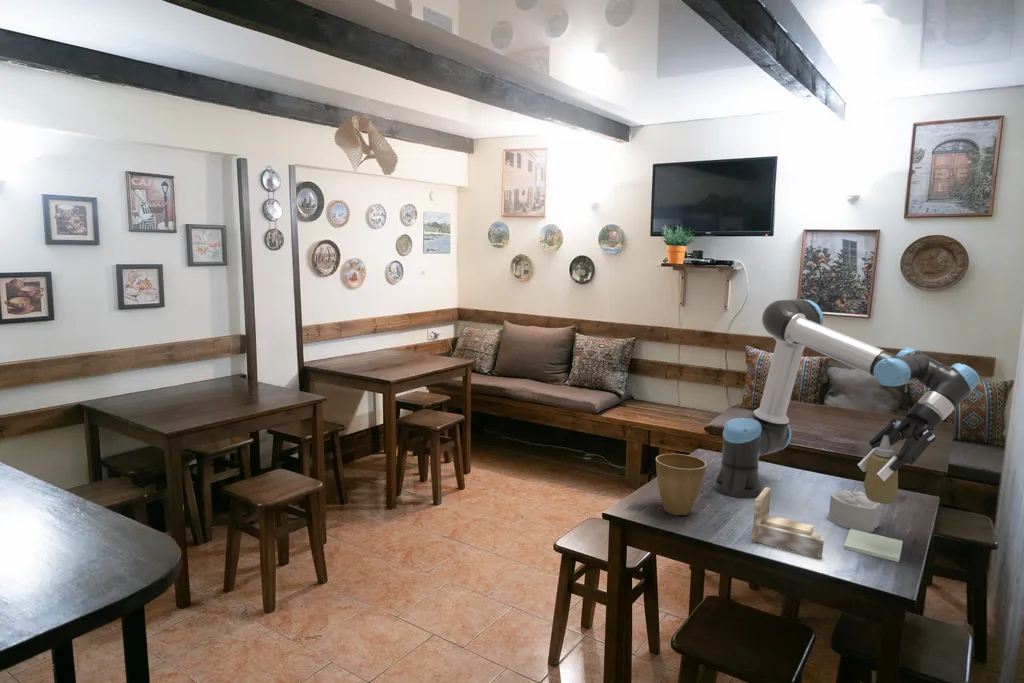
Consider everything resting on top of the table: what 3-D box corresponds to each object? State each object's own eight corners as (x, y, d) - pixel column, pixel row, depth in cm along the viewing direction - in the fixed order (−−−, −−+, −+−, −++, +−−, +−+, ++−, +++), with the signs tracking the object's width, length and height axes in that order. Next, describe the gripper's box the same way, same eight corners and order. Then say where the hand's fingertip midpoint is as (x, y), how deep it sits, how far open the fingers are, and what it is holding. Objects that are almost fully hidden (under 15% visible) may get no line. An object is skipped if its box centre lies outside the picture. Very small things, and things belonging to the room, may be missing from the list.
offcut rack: (751, 541, 181) (755, 499, 179) (762, 526, 191) (765, 487, 189) (821, 559, 171) (825, 515, 169) (828, 542, 181) (832, 501, 179)
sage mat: (843, 548, 178) (844, 545, 177) (850, 532, 188) (850, 528, 188) (899, 562, 171) (899, 558, 170) (902, 544, 181) (902, 540, 181)
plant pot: (694, 525, 190) (698, 472, 188) (645, 513, 198) (648, 462, 196) (708, 508, 203) (712, 459, 201) (662, 498, 211) (665, 450, 208)
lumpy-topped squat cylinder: (869, 534, 187) (872, 505, 186) (822, 520, 196) (825, 492, 195) (881, 524, 195) (884, 496, 193) (835, 511, 204) (838, 484, 202)
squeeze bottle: (888, 495, 181) (894, 432, 178) (902, 507, 173) (909, 440, 170) (857, 494, 182) (863, 431, 179) (870, 505, 174) (877, 439, 171)
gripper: (968, 431, 168) (906, 495, 167) (908, 412, 187) (853, 470, 186) (953, 411, 166) (890, 476, 165) (894, 394, 185) (838, 452, 184)
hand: (870, 472), depth 176 cm, fingers closed on squeeze bottle, 6 cm apart
